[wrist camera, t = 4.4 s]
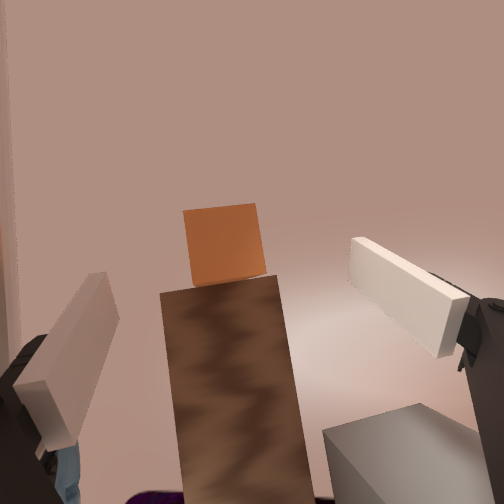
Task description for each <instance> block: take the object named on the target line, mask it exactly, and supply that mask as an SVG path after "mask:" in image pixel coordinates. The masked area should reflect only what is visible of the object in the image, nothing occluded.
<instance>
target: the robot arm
mask: <svg viewBox="0 0 504 504" xmlns="http://www.w3.org/2000/svg"><path fill="white" fill-rule="evenodd" d="M15 224H16V223H15V204H14V183H13V162H12V143H11V122H10V102H9V82H8V63H7V40H6V21H5V0H0V504H80V491H79V487H78V484H79V479H80V455H79V446H78V436H79V433H80V431H81V428H82V425H83V422H84V419H85V416H86V413H87V410H88V408H89V405H90V402H91V399H92V396H93V393H94V390H95V388H96V384H97V382H98V379H99V376H100V373H101V370H102V367H103V364H104V362H105V359H106V356H107V353H108V350H109V347H110V345H111V341H112V339H113V336H114V333H115V330H116V327H117V324H118V321H119V315H118V311H117V308H116V304H115V301H114V298H113V294H112V291H111V287H110V284H109V280H108V277H107V274H106V272H101V273H93V274H89V275H88V276H87V278H86V279H85V281H84V282H83V284H82V285H81V286H80V288H79V290H78V291H77V292H76V294H75V296H74V297H73V298H72V300H71V301H70V303H69V304H68V306H67V307H66V308H65V310H64V311H63V313H62V314H61V316H60V317H59V319H58V320H57V322H56V323H55V325H54V326H53V328H52V329H51V330H50V332H49V333H48V334H45V335H40V336H37V337H35V338H34V339H33V340H31V341H30V342H29V343H27V344H26V345H25V346H24V347H23V348H22V346H21V328H20V327H21V326H20V307H19V306H20V305H19V285H18V264H17V245H16V225H15ZM348 281H349V282H350V283H351V284H352V285H353V286H354V287H355V288H357V289H358V290H359V291H360V292H361V293H362V294H364V295H365V296H366V297H367V298H368V299H369V300H370V301H371V302H373V303H374V304H375V305H376V306H377V307H378V308H379V309H381V310H382V311H383V312H384V313H385V314H386V315H387V316H388V317H390V318H391V319H392V320H393V321H394V322H395V323H396V324H398V325H399V326H400V327H401V328H402V329H403V330H404V331H406V332H407V333H408V334H409V335H410V336H411V337H412V338H413V339H415V340H416V341H417V342H418V343H419V344H420V345H421V346H423V347H424V348H425V349H426V350H427V351H428V352H429V353H430V354H432V355H433V356H434V357H435V358H436V359H437V358H441V357H445V356H450V355H452V354H453V352H454V348H455V345H456V342H457V343H458V344H460V345H461V346H462V347H464V351H463V354H462V357H461V360H460V363H459V366H458V371H459V372H461V370H462V368H464V367H465V371H466V376H467V380H468V385H469V389H470V393H471V398H472V402H473V407H474V411H475V416H476V420H477V424H478V429H479V434H480V438H481V443H482V447H483V452H484V456H485V461H486V465H487V470H488V474H489V479H490V483H491V488H492V492H493V497H494V501H495V504H504V300H501V299H497V298H483V299H479V298H477V297H475V296H473V295H472V294H469V293H468V292H466V291H464V290H462V289H461V288H459V287H457V286H455V285H452V283H450V282H448V281H444V279H442V278H441V277H439V276H437V275H435V274H433V273H430V272H427V271H424V270H423V269H421V268H419V267H417V266H415V265H414V264H412V263H410V262H408V261H406V260H405V259H403V258H401V257H399V256H397V255H396V254H394V253H392V252H390V251H389V250H387V249H385V248H383V247H381V246H380V245H378V244H376V243H374V242H372V241H371V240H369V239H367V238H365V237H357V238H352V239H351V250H350V261H349V270H348Z"/></svg>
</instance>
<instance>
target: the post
mask: <svg viewBox="0 0 504 504" xmlns="http://www.w3.org/2000/svg"><path fill="white" fill-rule="evenodd" d="M160 301H161V309H162V317H163V326H164V334H165V342H166V350H167V359H168V367H169V375H170V384H171V392H172V400H173V409H174V416H175V425H176V434H177V441H178V450H179V458H180V467H181V475H182V483H183V492H184V500H185V504H315V498H314V493H313V487H312V481H311V475H310V469H309V463H308V458H307V451H306V446H305V440H304V434H303V428H302V422H301V416H300V410H299V404H298V398H297V393H296V386H295V381H294V375H293V369H292V363H291V357H290V351H289V346H288V339H287V334H286V328H285V322H284V316H283V310H282V304H281V298H280V293H279V286H278V281H277V275H273V276H266V277H260V278H254V279H247V280H241V281H235V282H228V283H222V284H216V285H209V286H203V287H197V288H190V289H184V290H177V291H172V292H165V293H160Z"/></svg>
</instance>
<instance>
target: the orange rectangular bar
mask: <svg viewBox="0 0 504 504" xmlns="http://www.w3.org/2000/svg"><path fill="white" fill-rule="evenodd" d="M183 214H184V222H185V229H186V237H187V243H188V252H189V259H190V266H191V274H192V281H193V285H194V286H196V287H203V286H209V285H216V284H222V283H228V282H235V281H241V280H246V279H249V278H252V277H255V276H259V275H262V274H266V273H267V272H266V266H265V260H264V254H263V248H262V242H261V237H260V230H259V224H258V218H257V212H256V206H255V203H253V204H243V205H233V206H224V207H214V208H205V209H195V210H186V211H183Z"/></svg>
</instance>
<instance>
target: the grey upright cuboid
mask: <svg viewBox="0 0 504 504" xmlns="http://www.w3.org/2000/svg"><path fill="white" fill-rule="evenodd" d="M322 432H323V437H324V443H325V448H326V454H327V460H328V465H329V471H330V477H331V482H332V488H333V493H334V499H335V504H495V501H494V497H493V492H492V488H491V483H490V479H489V474H488V470H487V465H486V461H485V456H484V452H483V447H482V443H481V438H480V434H479V433H477V432H476V431H474V430H472V429H470V428H468V427H466V426H464V425H462V424H460V423H458V422H456V421H454V420H452V419H450V418H448V417H446V416H444V415H442V414H440V413H438V412H436V411H434V410H433V409H431V408H429V407H427V406H425V405H423V404H421V403H418V404H415V405H411V406H407V407H404V408H401V409H397V410H393V411H390V412H386V413H382V414H379V415H375V416H372V417H368V418H364V419H361V420H357V421H354V422H350V423H346V424H343V425H340V426H336V427H332V428H329V429H325V430H323V431H322Z"/></svg>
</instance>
